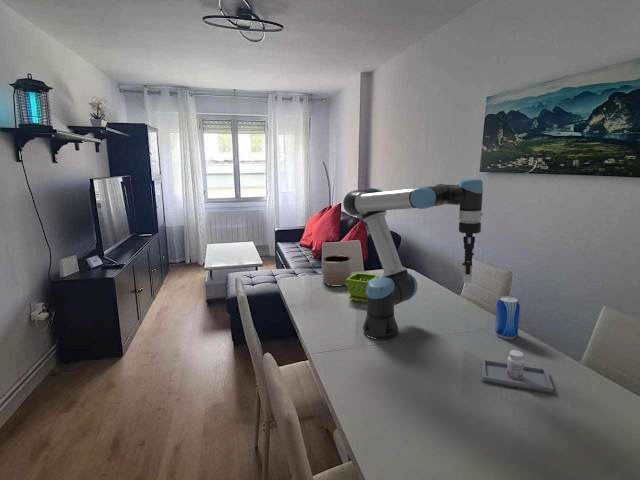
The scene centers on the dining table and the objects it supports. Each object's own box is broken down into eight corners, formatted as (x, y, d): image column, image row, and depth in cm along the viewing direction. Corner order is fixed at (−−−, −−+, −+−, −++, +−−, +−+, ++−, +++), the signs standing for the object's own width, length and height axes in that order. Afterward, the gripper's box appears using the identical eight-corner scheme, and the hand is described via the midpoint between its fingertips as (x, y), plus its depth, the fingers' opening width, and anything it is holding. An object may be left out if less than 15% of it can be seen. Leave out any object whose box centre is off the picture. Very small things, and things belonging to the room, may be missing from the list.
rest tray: (482, 381, 119) (482, 376, 118) (481, 363, 129) (481, 358, 129) (553, 394, 111) (553, 388, 111) (545, 373, 122) (546, 368, 121)
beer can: (520, 340, 144) (523, 303, 141) (497, 339, 146) (500, 302, 143) (513, 331, 152) (516, 295, 149) (492, 330, 154) (494, 295, 151)
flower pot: (379, 297, 198) (379, 275, 195) (369, 305, 186) (368, 282, 184) (357, 293, 205) (356, 271, 202) (345, 301, 194) (344, 278, 191)
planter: (321, 287, 218) (320, 262, 214) (325, 278, 235) (324, 254, 232) (350, 287, 215) (349, 262, 211) (352, 278, 232) (352, 255, 229)
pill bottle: (506, 370, 123) (507, 348, 121) (522, 373, 121) (523, 350, 119) (507, 378, 119) (508, 355, 117) (523, 381, 117) (525, 357, 115)
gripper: (482, 227, 119) (478, 288, 123) (480, 216, 141) (477, 268, 146) (458, 227, 122) (455, 286, 126) (459, 216, 144) (457, 267, 148)
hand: (467, 277), depth 136 cm, fingers open, 13 cm apart
